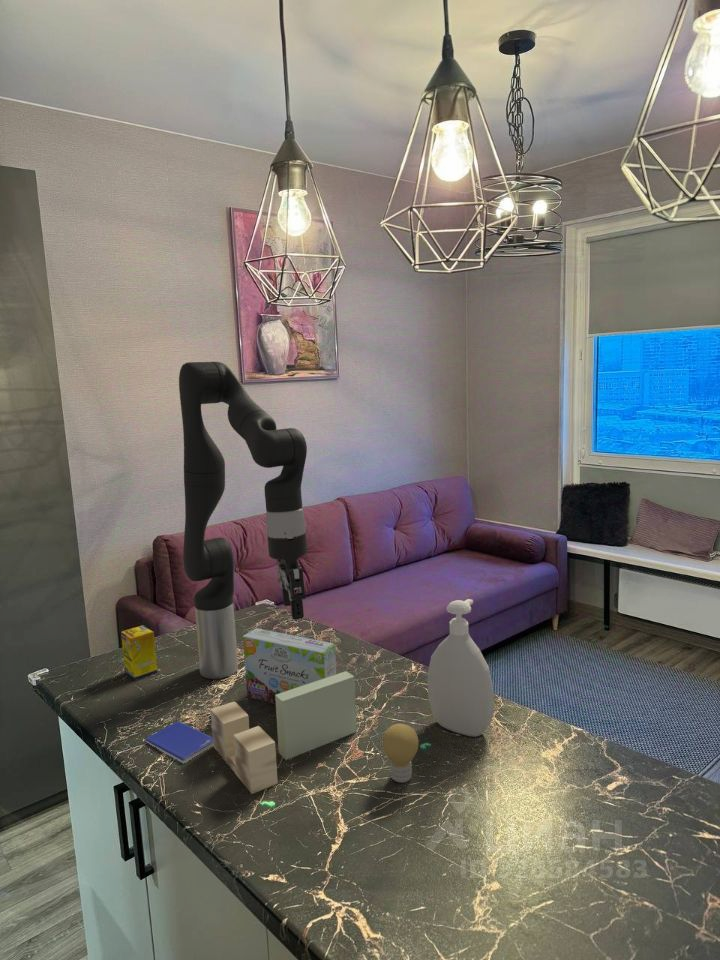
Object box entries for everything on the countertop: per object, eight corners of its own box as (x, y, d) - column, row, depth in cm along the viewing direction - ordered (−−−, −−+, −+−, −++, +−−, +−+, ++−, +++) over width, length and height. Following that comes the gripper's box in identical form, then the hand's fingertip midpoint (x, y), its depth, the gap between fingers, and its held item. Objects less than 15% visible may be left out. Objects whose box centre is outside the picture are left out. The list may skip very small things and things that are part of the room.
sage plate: (278, 752, 125) (275, 694, 123) (348, 725, 134) (346, 671, 132) (286, 760, 123) (282, 701, 121) (356, 731, 132) (354, 676, 130)
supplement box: (124, 673, 162) (120, 631, 160) (147, 665, 166) (143, 624, 164) (134, 681, 157) (130, 638, 155) (157, 672, 161) (154, 630, 159)
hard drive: (217, 738, 129) (179, 720, 137) (183, 758, 123) (145, 738, 130) (218, 746, 129) (180, 727, 137) (184, 766, 123) (146, 745, 131)
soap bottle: (503, 728, 131) (503, 600, 126) (485, 747, 124) (484, 613, 120) (441, 708, 140) (438, 587, 135) (420, 725, 133) (417, 599, 129)
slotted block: (213, 746, 128) (210, 709, 127) (237, 738, 131) (234, 701, 129) (251, 794, 113) (248, 752, 112) (277, 783, 116) (275, 742, 115)
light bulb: (425, 773, 117) (424, 722, 116) (409, 793, 112) (408, 740, 110) (393, 763, 120) (392, 713, 119) (376, 783, 115) (375, 731, 113)
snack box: (245, 699, 147) (240, 635, 144) (260, 687, 152) (256, 626, 149) (326, 719, 137) (323, 651, 134) (339, 706, 142) (336, 641, 139)
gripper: (261, 527, 132) (268, 604, 135) (273, 542, 119) (281, 626, 121) (297, 522, 135) (304, 598, 137) (313, 536, 121) (320, 620, 123)
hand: (293, 611), depth 129 cm, fingers open, 8 cm apart
